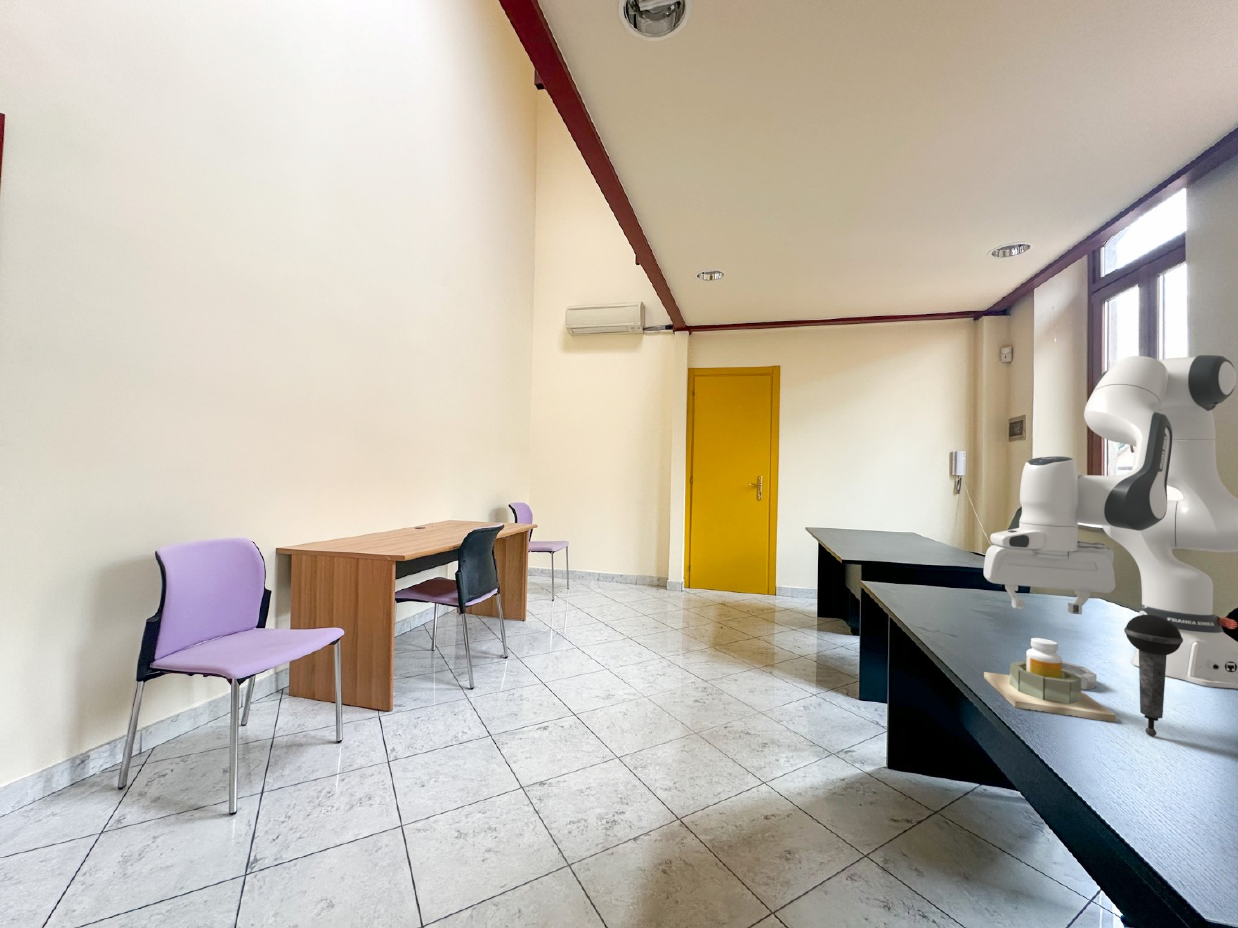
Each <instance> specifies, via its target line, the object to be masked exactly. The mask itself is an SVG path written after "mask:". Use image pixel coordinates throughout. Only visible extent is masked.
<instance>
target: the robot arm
mask: <svg viewBox="0 0 1238 928" xmlns="http://www.w3.org/2000/svg"><path fill="white" fill-rule="evenodd" d="M1236 382H1237V373H1236V371H1235V367H1234V365H1233V362H1231V361H1230V360H1229V359H1228V358H1226V357H1225V356H1223V355H1218V354H1217V355H1216V354H1215V355H1214V354H1206V355H1205V354H1200V355H1197V356H1186V357H1173V358H1172V357H1171V358H1163V359H1162V358H1161V359H1156V358H1154V357H1149V356H1145V355H1138V356H1136V355H1135V356H1129V357H1126V358H1122V359H1120V360H1118V361H1117V362H1115V363H1114V364H1113V365H1112V366H1111V367H1110V368H1109V369H1107V370H1105V371H1104V372H1103V373H1101V374H1100V376H1099V377H1097V380H1096V381H1095V383H1094V384H1095V385H1094V389H1093V391H1092V393H1091V395H1090V397H1089V398H1088V401H1087V402H1086V405H1085V407H1084V411H1083V418H1084V421H1085V424H1086V425H1087V427H1088V428H1089V429H1090V430H1091V431H1092V432H1094V434H1095V435H1098V436H1099V437H1101V438H1103V439H1105V440H1108V441H1110V442H1114V443H1118V444H1120V443H1121V444H1125V445H1128V446H1131V447H1135V452H1134V457H1133V462H1132V468H1131V470H1130V471H1129V472H1127V473H1123V474H1118V475H1094V474H1093V475H1089V474H1083V473H1081V472H1079V471H1077V466H1076V465H1077V464H1076V461H1075V458H1072V457H1069V456H1059V455H1058V456H1045V457H1044V456H1043V457H1042V456H1041V457H1035V458H1032V459H1029V460H1027V461H1026V462H1025V464H1024V467H1023V469H1022V473H1021V479H1020V480H1021V481H1020V488H1019V503H1020V506H1021V515H1020V517H1019V520H1018V522H1019V523H1018V527H1017V528H1012V529H1008V530H1003V531H997V532H993V533H991V534H990V536H989V539H990V542H991V544H993V545H990V546H989V547H988V548H987V550H986V553H985V556H984V563H983V576H984V578H985V579H986V581H987V582H990V583H992V584H1000V585H1004V587H1005V590H1006V592H1007V594H1008V595H1009V596H1010V598H1011V607H1012V608H1013V609H1021V610H1023V609H1025V605H1024V604H1025V600H1024V599H1022V598H1020V597H1019V596H1018V595H1017V593H1016V592H1019V591H1018V590H1019V586H1021V587H1032V588H1033V587H1034V588H1045V589H1054V590H1055V589H1056V590H1057V589H1059V590H1068V591H1074V594H1075V595H1077V596H1076V598H1075V599H1074V600H1073V602H1068V603H1067V612H1068V613H1070V614H1074V615H1082V613H1083V606H1084V605H1085V604H1086V603H1087V602H1088V600H1089V599H1090V598H1091V592H1092V593H1104V594H1111V593H1112V592H1113V591H1114V590H1115V589H1116V578H1115V571H1114V566H1113V564H1114V562H1115V561H1114V559H1115V557H1114V556H1115V552H1114V551H1113V549H1112V548H1111V547H1110V546H1108V545H1107V544H1105V543H1102V542H1089V541H1079V524H1080V523H1081V524H1087V525H1095V526H1101V527H1102V529H1103V531H1104V532H1105V534H1106V536H1108V537H1109V538H1111V539H1112V540H1114V541H1115V542H1116V543H1118V544H1119V545H1120V546H1122V547H1123V548H1124V549H1125V550H1126V551H1127V552H1128V553H1129V554H1130V555H1131V557H1132V558H1133V560H1134V561H1135V563H1136V565H1137V567H1138V570H1139V574H1140V585H1141V602H1140V603H1139V605H1138V616H1140V615H1155V616H1159V617H1162V618H1164V619H1166V620H1168V621H1170V622H1171V623H1172V624H1174V625H1175V626H1176V627H1177V629H1178V630H1179V632H1180V634H1181V637H1182V638H1183V642H1182V643H1181V645H1180V647H1179V649H1178V650H1177V651H1175V652H1174V653H1172V654H1169V655H1167V657H1166V672H1165V677H1170V678H1175V679H1179V680H1183V681H1186V682H1188V683H1189V682H1190V683H1192V684H1193V683H1194V684H1196V685H1200V686H1204V687H1212V688H1213V687H1214V688H1225V689H1227V688H1228V689H1238V641H1237V640H1235V639H1234V638H1232V637H1231V636H1229V635H1228V634H1226V632H1224V629H1223V627H1224V628H1227V629H1230V630H1234V629H1235V628H1237V627H1238V622H1236V620H1234V619H1232V618H1231V619H1230V618H1228V617H1222V618H1221V617H1219V616H1218V615H1216V614H1214V613H1213V612H1214V610H1213V609H1214V606H1213V604H1214V583H1213V580H1212V578H1211V577H1210V576H1209V575H1208V574H1207V573H1205V572H1204V571H1202V570H1200V569H1199V568H1196V567H1194V566H1192V565H1190V564H1187V563H1185V562H1183V561H1181V560H1179V559H1178V558H1176V557H1175V555H1174V554H1173V551H1172V550H1174V549H1176V550H1177V549H1180V550H1182V549H1183V550H1192V551H1203V552H1204V551H1205V552H1213V553H1238V498H1237V497H1235V496H1234V495H1233V494H1232V493H1231V492H1230V491H1229V490H1228V489H1227V488H1226V486H1225V485H1224V484H1223V482H1222V480H1221V478H1220V475H1219V472H1218V465H1217V458H1216V457H1217V455H1216V454H1217V453H1216V425H1215V424H1216V423H1215V418H1214V413H1213V410H1214V409H1215V408H1216V407H1217V406H1218V405H1219V404H1222V403H1223V402H1224V401H1226V400H1227V399H1228V398H1229V397H1230V396H1231V395H1232V394H1233V392H1234V391H1235V390H1234V389H1235V386H1236ZM1168 487H1171V488H1173V489H1176V490H1178V491H1179V492H1180V493H1181V495H1182V496H1183V498H1182V499H1180V500H1179V499H1178V500H1171V499H1170V500H1169V499H1168ZM1130 663H1131V664H1133V665H1135V666H1137V667H1138V668H1139V650H1138V649H1137V648H1136V647H1135V650H1134V653H1133V655H1132V658H1131V659H1130Z"/></svg>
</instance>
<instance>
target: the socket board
mask: <svg viewBox="0 0 1238 928" xmlns="http://www.w3.org/2000/svg"><path fill="white" fill-rule="evenodd" d="M1009 665H1010V666H1009V674H1002V673H995V672H988V671H987V672H986V671H984V672H983V678H984V679H985V680H986V681H987V682H988V683H989V684H990V685H991V686H992V687H993V688H994V689H995V690H996V691H997V692H998V693H1000V695H1001V696H1003V698H1004V699H1005V700H1006V701H1008V702H1009V703H1010V705H1012V706H1013V707H1014V708H1015V709H1016V708H1017V709H1023V710H1028V709H1031V711H1035V710H1037V712H1042V711H1045V712H1044V713H1051V714H1056V715H1063V714H1067V715H1066V716H1069V715H1072V716H1071V717H1076V716H1077V717H1078V718H1084V719H1092V720H1098V721H1105V722H1112V723H1117V714H1115V713H1113V712H1112V711H1111V710H1110V709H1108V708H1106V707H1105V706H1104V705H1102V704H1101V703H1099V702H1098V701H1097V700H1095V699H1093V698H1092V697H1090V696H1089V695H1088V694H1086V693H1085V692H1083V691H1082V689H1081V678H1080V677H1078V676H1077V675H1075V674H1074V673H1072V672H1071V671H1068V670H1065V669H1062V679H1058V678H1051V677H1044V676H1040V675H1037V674H1034V673H1031V672H1027V671H1026V660H1025V661H1024V660H1017V661H1014V662H1011V663H1009ZM1077 717H1076V718H1077Z"/></svg>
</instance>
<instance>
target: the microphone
mask: <svg viewBox="0 0 1238 928" xmlns="http://www.w3.org/2000/svg"><path fill="white" fill-rule="evenodd" d="M1123 630H1124V633H1125V635H1126V638H1127V640H1128V641H1129V642H1130V644H1131V645H1132V646H1133V647H1135V649H1136V648H1137V649H1138V650H1139V667H1138V669H1139V670H1138V672H1139V673H1138V674H1139V676H1138V677H1139V678H1138V679H1139V712H1140V714H1142V715H1144V716H1143V717H1144V719H1148V720H1147V727H1146V728H1145V729H1144V731H1145V734H1146V735H1148V736H1149V737H1156V736H1157V731H1156V729H1155V722H1158V721H1159V719H1163V717H1164V701H1165V689H1166V688H1165V685H1166V675H1165V672H1166V657H1167V655H1169V654H1172V653H1174V652H1175V651H1177V650H1178V649H1179V647H1180V645H1181V643H1182V642H1183V638H1182V637H1181V634H1180V632H1179V630H1178V629H1177V627H1176V626H1175V625H1174V624H1172V623H1171V622H1170V621H1168V620H1166V619H1164V618H1162V617H1159V616H1155V615H1140V616H1139V615H1137V616H1134V617H1133V618H1131V619H1130V620H1129V621H1128V622H1127V624H1126V626H1125V627H1124V629H1123Z"/></svg>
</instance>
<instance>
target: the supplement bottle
mask: <svg viewBox="0 0 1238 928" xmlns="http://www.w3.org/2000/svg"><path fill="white" fill-rule="evenodd" d="M1030 646H1031V648H1029V649H1027V650H1026V654H1025V656H1026V657H1025V661H1026V671H1027V672H1031V673H1034V674H1037V675H1040V676H1044V677H1051V678H1058V679H1062V661H1063V659H1062V657H1061V655H1060V654H1058V653H1057V652H1058V649H1059V648H1058V647H1059V646H1058V643H1057V642H1056V641H1053V640H1051V639H1050V640H1049V639H1046V638H1041V637H1032V638H1030Z"/></svg>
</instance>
